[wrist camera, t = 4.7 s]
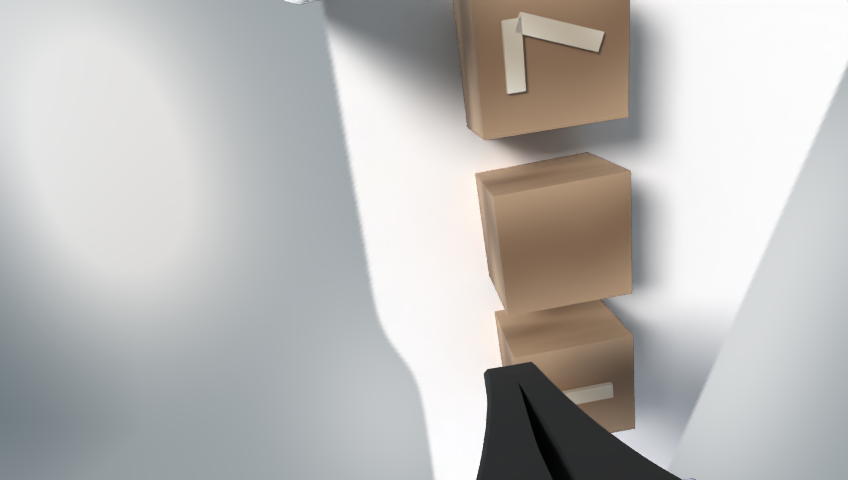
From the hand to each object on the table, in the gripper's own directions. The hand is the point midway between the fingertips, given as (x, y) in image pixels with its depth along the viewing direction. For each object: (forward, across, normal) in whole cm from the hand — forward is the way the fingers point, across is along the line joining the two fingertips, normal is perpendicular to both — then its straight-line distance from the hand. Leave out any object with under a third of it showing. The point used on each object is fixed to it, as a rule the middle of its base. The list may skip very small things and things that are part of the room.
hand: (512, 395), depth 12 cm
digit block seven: (+10, -4, -8) cm, 13 cm away
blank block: (+10, -4, -2) cm, 10 cm away
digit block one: (+10, -4, +6) cm, 12 cm away
